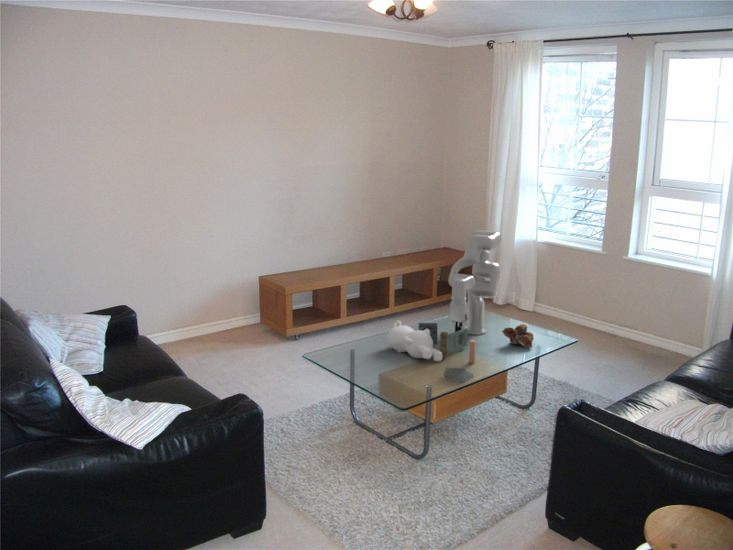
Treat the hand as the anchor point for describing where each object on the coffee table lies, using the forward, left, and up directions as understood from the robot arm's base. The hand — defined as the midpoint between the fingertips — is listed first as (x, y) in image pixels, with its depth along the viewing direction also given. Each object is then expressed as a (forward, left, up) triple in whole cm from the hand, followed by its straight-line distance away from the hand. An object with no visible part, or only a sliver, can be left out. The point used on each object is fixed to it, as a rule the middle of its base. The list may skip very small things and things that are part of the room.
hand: (457, 332), depth 361 cm
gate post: (+16, -3, -10) cm, 19 cm away
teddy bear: (+19, -19, -10) cm, 28 cm away
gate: (+5, 0, -8) cm, 10 cm away
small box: (-3, -19, -10) cm, 21 cm away
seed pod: (-21, +30, -10) cm, 38 cm away
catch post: (+15, +13, -10) cm, 22 cm away
